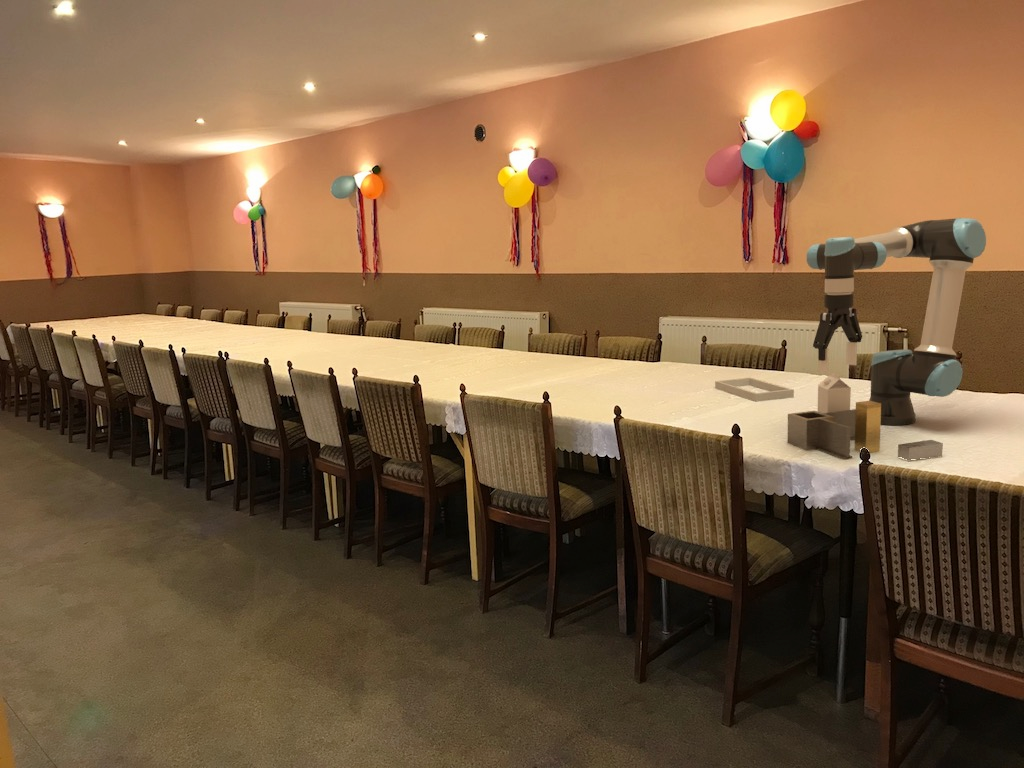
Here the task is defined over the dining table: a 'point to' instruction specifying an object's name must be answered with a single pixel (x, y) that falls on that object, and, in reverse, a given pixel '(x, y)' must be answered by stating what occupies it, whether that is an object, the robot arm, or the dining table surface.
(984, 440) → the dining table surface
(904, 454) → the bar
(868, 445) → the tall golden block
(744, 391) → the parts tray frame
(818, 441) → the brown box with panels
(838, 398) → the milk carton
